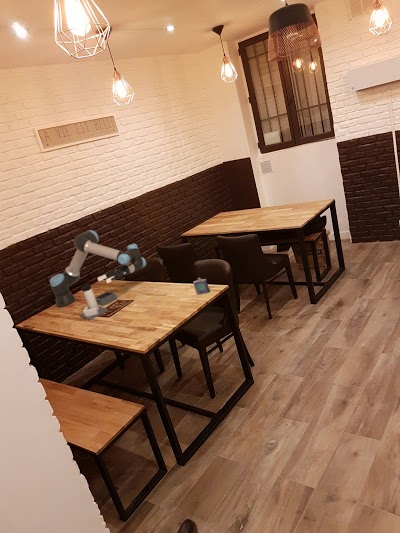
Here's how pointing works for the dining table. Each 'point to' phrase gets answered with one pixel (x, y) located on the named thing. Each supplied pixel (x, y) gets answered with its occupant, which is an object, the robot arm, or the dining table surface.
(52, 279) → the robot arm
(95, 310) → the V-cradle
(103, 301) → the sleeve
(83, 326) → the dining table surface
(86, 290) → the travel mug
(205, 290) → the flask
